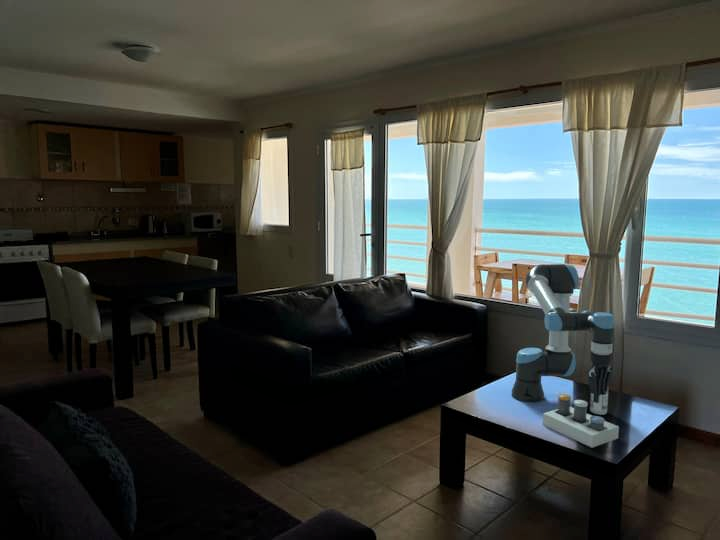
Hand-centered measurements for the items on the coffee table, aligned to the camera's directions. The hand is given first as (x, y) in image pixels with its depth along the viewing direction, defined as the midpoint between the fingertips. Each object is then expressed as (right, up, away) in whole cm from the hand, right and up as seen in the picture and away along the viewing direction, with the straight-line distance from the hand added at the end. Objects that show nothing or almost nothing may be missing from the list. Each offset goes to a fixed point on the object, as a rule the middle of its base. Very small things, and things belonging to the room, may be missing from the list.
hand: (597, 409), depth 204 cm
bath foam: (+13, -9, +27) cm, 32 cm away
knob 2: (-4, -7, +7) cm, 11 cm away
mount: (-4, -11, +8) cm, 14 cm away
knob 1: (-8, -6, +14) cm, 17 cm away
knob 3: (0, -12, +1) cm, 12 cm away
